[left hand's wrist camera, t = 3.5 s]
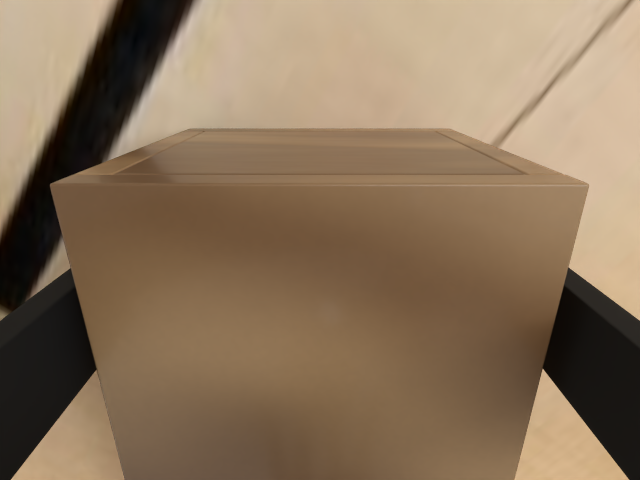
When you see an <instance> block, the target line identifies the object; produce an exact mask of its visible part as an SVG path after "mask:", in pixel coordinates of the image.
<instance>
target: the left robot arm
mask: <svg viewBox="0 0 640 480" xmlns="http://www.w3.org/2000/svg"><path fill="white" fill-rule="evenodd" d="M543 369H544V371H545V372H546V373H547V374H548V376H549V377H550V378H551V380H552V381H553V382H554V383H555V385H556V386H557V387H558V389H559V390H560V391H561V392H562V394H563V395H564V396H565V398H566V399H567V400H568V401H569V403H570V404H571V405H572V407H573V408H574V409H575V410H576V412H577V413H578V414H579V416H580V417H581V418H582V419H583V421H584V422H585V423H586V425H587V426H588V427H589V428H590V430H591V431H592V432H593V434H594V435H595V436H596V437H597V439H598V440H599V441H600V443H601V444H602V445H603V446H604V448H605V449H606V450H607V452H608V453H609V454H610V455H611V457H612V458H613V459H614V461H615V462H616V463H617V464H618V466H619V467H620V468H621V470H622V471H623V472H624V473H625V475H626V476H627V477H628V479H629V480H640V321H639V320H638V319H637V318H635V317H634V316H633V315H631V314H630V313H629V312H627V311H626V310H625V309H623V308H622V307H621V306H619V305H618V304H617V303H615V302H614V301H613V300H611V299H610V298H609V297H607V296H606V295H604V294H603V293H602V292H600V291H599V290H598V289H596V288H595V287H594V286H592V285H591V284H590V283H588V282H587V281H586V280H584V279H583V278H582V277H580V276H579V275H578V274H576V273H575V272H574V271H572V270H571V269H570V268H568V270H567V274H566V278H565V282H564V286H563V290H562V294H561V298H560V302H559V306H558V310H557V314H556V318H555V322H554V325H553V329H552V333H551V337H550V341H549V345H548V349H547V353H546V357H545V361H544V365H543ZM95 371H96V365H95V361H94V357H93V353H92V349H91V345H90V341H89V337H88V333H87V329H86V325H85V322H84V318H83V314H82V310H81V306H80V302H79V298H78V294H77V290H76V286H75V282H74V279H73V275H72V271H71V268H70V269H69V270H68V271H66V272H65V273H64V274H62V275H61V276H60V277H58V278H57V279H56V280H54V281H53V282H52V283H50V284H49V285H48V286H46V287H45V288H44V289H42V290H41V291H40V292H38V293H37V294H36V295H34V296H33V297H31V298H30V299H29V300H27V301H26V302H25V303H23V304H22V305H21V306H19V307H18V308H17V309H15V310H14V311H13V312H11V313H10V314H9V315H7V316H6V317H5V318H3V319H2V320H1V321H0V480H11V479H12V477H13V476H14V475H15V473H16V472H17V471H18V470H19V468H20V467H21V466H22V464H23V463H24V462H25V461H26V459H27V458H28V457H29V455H30V454H31V453H32V452H33V450H34V449H35V448H36V446H37V445H38V444H39V443H40V441H41V440H42V439H43V437H44V436H45V435H46V434H47V432H48V431H49V430H50V428H51V427H52V426H53V425H54V423H55V422H56V421H57V419H58V418H59V417H60V416H61V414H62V413H63V412H64V410H65V409H66V408H67V407H68V405H69V404H70V403H71V401H72V400H73V399H74V398H75V396H76V395H77V394H78V392H79V391H80V390H81V389H82V387H83V386H84V385H85V383H86V382H87V381H88V380H89V378H90V377H91V376H92V374H93V373H94V372H95Z"/></svg>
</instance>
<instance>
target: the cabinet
mask: <svg viewBox="0 0 640 480" xmlns="http://www.w3.org/2000/svg"><path fill="white" fill-rule="evenodd" d="M588 188H589V184H587V183H585V182H582V181H580V180H577V179H575V178H572V177H570V176H567V175H563V174H561V173H559V172H556V171H554V170H551V169H549V168H546V167H544V166H541V165H539V164H536V163H534V162H531V161H529V160H526V159H524V158H521V157H519V156H516V155H514V154H511V153H509V152H506V151H504V150H501V149H499V148H496V147H494V146H491V145H489V144H486V143H484V142H481V141H479V140H476V139H474V138H471V137H469V136H466V135H464V134H461V133H459V132H456V131H454V130H451V129H188V130H186V131H183V132H180V133H178V134H175V135H173V136H170V137H167V138H165V139H162V140H160V141H157V142H155V143H152V144H150V145H147V146H145V147H142V148H140V149H137V150H135V151H132V152H129V153H127V154H124V155H122V156H119V157H117V158H114V159H112V160H109V161H107V162H104V163H102V164H99V165H97V166H94V167H92V168H89V169H86V170H84V171H81V172H79V173H76V174H74V175H71V176H69V177H66V178H64V179H61V180H59V181H56V182H54V183H51V184H50V189H51V192H52V196H53V200H54V204H55V208H56V212H57V216H58V220H59V224H60V228H61V232H62V236H63V239H64V243H65V247H66V251H67V255H68V259H69V263H70V267H71V271H72V275H73V279H74V282H75V286H76V290H77V294H78V298H79V302H80V306H81V310H82V314H83V318H84V322H85V325H86V329H87V333H88V337H89V341H90V345H91V349H92V353H93V357H94V361H95V365H96V369H97V372H98V376H99V380H100V384H101V388H102V392H103V396H104V400H105V404H106V408H107V412H108V415H109V419H110V423H111V427H112V431H113V435H114V439H115V443H116V447H117V451H118V455H119V458H120V462H121V466H122V470H123V474H124V478H125V480H514V479H515V475H516V471H517V467H518V463H519V459H520V455H521V451H522V447H523V443H524V439H525V435H526V432H527V428H528V424H529V420H530V416H531V412H532V408H533V404H534V400H535V396H536V392H537V388H538V384H539V380H540V377H541V373H542V369H543V365H544V361H545V357H546V353H547V349H548V345H549V341H550V337H551V333H552V329H553V325H554V322H555V318H556V314H557V310H558V306H559V302H560V298H561V294H562V290H563V286H564V282H565V278H566V274H567V270H568V267H569V263H570V259H571V255H572V251H573V247H574V243H575V239H576V235H577V231H578V227H579V223H580V219H581V215H582V212H583V208H584V204H585V200H586V196H587V192H588Z"/></svg>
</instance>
